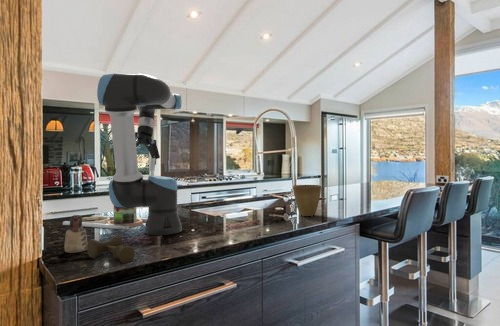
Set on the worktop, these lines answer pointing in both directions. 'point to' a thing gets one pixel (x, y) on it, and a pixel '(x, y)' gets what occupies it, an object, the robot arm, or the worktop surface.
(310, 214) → the plant pot
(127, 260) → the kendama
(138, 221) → the marked ring
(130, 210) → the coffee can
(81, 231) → the figurine
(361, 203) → the worktop surface
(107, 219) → the flat rectangular tray
